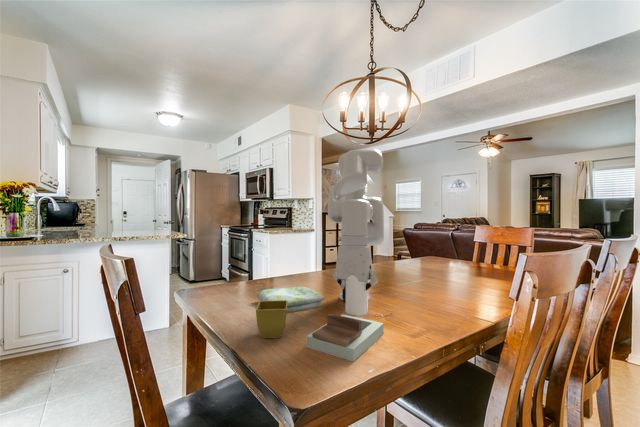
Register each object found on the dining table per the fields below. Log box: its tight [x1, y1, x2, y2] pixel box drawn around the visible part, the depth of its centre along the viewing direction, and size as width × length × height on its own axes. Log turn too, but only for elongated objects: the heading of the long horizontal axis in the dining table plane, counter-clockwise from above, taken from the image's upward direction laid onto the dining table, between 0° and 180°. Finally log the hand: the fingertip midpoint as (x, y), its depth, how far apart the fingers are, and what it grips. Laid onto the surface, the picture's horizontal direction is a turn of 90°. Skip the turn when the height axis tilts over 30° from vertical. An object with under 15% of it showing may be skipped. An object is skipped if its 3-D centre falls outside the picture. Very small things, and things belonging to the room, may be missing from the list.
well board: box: [306, 314, 385, 362], centre depth 85 cm, size 20×14×3 cm
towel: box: [257, 286, 325, 314], centre depth 118 cm, size 18×21×5 cm
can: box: [345, 273, 369, 317], centre depth 88 cm, size 6×6×12 cm
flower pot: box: [255, 300, 288, 339], centre depth 88 cm, size 9×9×9 cm
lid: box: [311, 313, 363, 346], centre depth 80 cm, size 9×10×4 cm
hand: (354, 302), depth 89 cm, fingers closed on can, 4 cm apart
